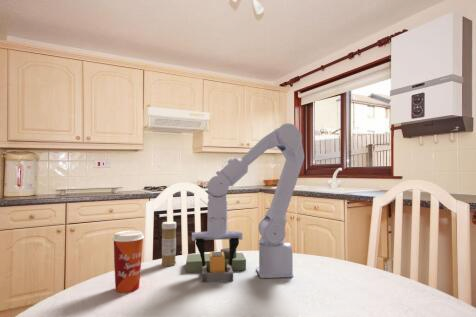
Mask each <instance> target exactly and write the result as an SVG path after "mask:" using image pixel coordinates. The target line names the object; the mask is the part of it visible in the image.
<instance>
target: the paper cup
mask: <svg viewBox="0 0 476 317" xmlns="http://www.w3.org/2000/svg"><path fill="white" fill-rule="evenodd" d="M144 238H145V235H144V233H143V231H141V230H123V231H117V232H115V233H114V235H113V237H112V241H113V257H114V259H113V262H114V263H113V264H114V282H115V283H114V284H115V292H117V293H119V294H127V293H128V294H129V293H132V292H135V291H137V290H138V289H139V288H140V279H141V269H142V268H141V267H142V256H143V255H142V254H143V243H144Z"/></svg>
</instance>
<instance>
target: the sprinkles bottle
mask: <svg viewBox="0 0 476 317" xmlns="http://www.w3.org/2000/svg"><path fill="white" fill-rule="evenodd" d="M161 229H162V234H161V235H162V236H161V265H162V266H164V267H171V266H175V265H176V263H177V262H176V253H177V234H176V233H177V231H176V229H177V221H163V222H162V223H161Z"/></svg>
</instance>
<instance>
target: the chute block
mask: <svg viewBox="0 0 476 317" xmlns="http://www.w3.org/2000/svg"><path fill="white" fill-rule="evenodd" d="M209 254H210V271H209V273H216V272H226V271H225V256H224V252H221V251H210V252H209Z"/></svg>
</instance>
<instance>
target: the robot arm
mask: <svg viewBox="0 0 476 317" xmlns="http://www.w3.org/2000/svg"><path fill="white" fill-rule="evenodd" d="M302 139H303V135H302V133H301V132H300V130H299V129H298V127H297V126H296V125H295V124H293V123H291V122H290V123H289V122H286V123H283V124H282V125H281V126H280V127H278V128H276V129H274V130H273V131H272V132H270V133H268V134H267V135H265V136H263V137H261V139H260V140H259V141H258V142H257V143H255V145H254V146H253V147H251V148H250V149H249V151H247V152H246V153H245V154H244V155H243V156H242V157H240V158H239V157H234V158H233V159H229V160H228V161H227V164H226V165H225V166H224V167H223V168H222V169H220V170H217V171H216V172H215V174H216V175H215V176H212V177H211V178H210V179H209V181H208V183H207V188H206V189H207V191H208V192H209V193H208V195H207V199H208V201H207V224H206V225H207V230H206V231H199V232H197V231H196V232H191V241H194V242H195V246H196V248H197V250H198V252H199V253H198V254H200V256H201V260H202V266H205V256H204V254H205V241H210V240H211V241H214V240H228V246H229V247H228V248H229V266H231V265H232V260H233V256H234V253H235V251H236V252H237V248H238V246H239V243H240V240H243V232H242V231H234V230H233V231H230V230H228V200H227V193H228V192H229V188H230V187H233V186H234V185H235V184H236V183H237V182H238V181H240V180H241V179H242V178H243V177H244V176H245V175H247V174H248V172H249V171H248V169H249V166H250V165H251V164H252V163H253V162H255V161H256V160H257V159H258V158H260V156H262V155H263V154H265V152H266V151H267V150H270V149H274V148H277V149H278V150H280V152H281V153H282V155H283V156H284V158H285V160H284V161H285V162H284V164H283V167H282V170H281V173H280V177H279V180H278V183H277V185H276V188H275V190H274V194H273V197H272V200H271V203H270V205H269V208H268V210H267V211H266V212H265V215H264V217H263V218H262V219H261V220H260V222H259V224H258V232H259V234H260V236H261V238H259V241H258V245H259V246H258V248H259V249H258V250H259V251H258V253H259V254H258V258H259V259H258V262H259V263H258V267H255V270H256V272H257V274H258V276H259V278H261V279H273V278H274V279H275V278H293V277H294V272H293V271H294V270H293V268H294V267H293V266H294V265H293V248H292V245H291V243H290V242H285V241H284V240H285V238H286V234H287V233H286V224H287V212H288V208H289V205H290V203H291V199H292V197H293V193H294V190H295V188H296V186H297V185H296V184H297V183H298V182H297V181H298V179H299V176H300V172H301V169H302V167H303V164H304V160H305V152H304V151H305V150H304V148H303V142H302Z"/></svg>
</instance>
